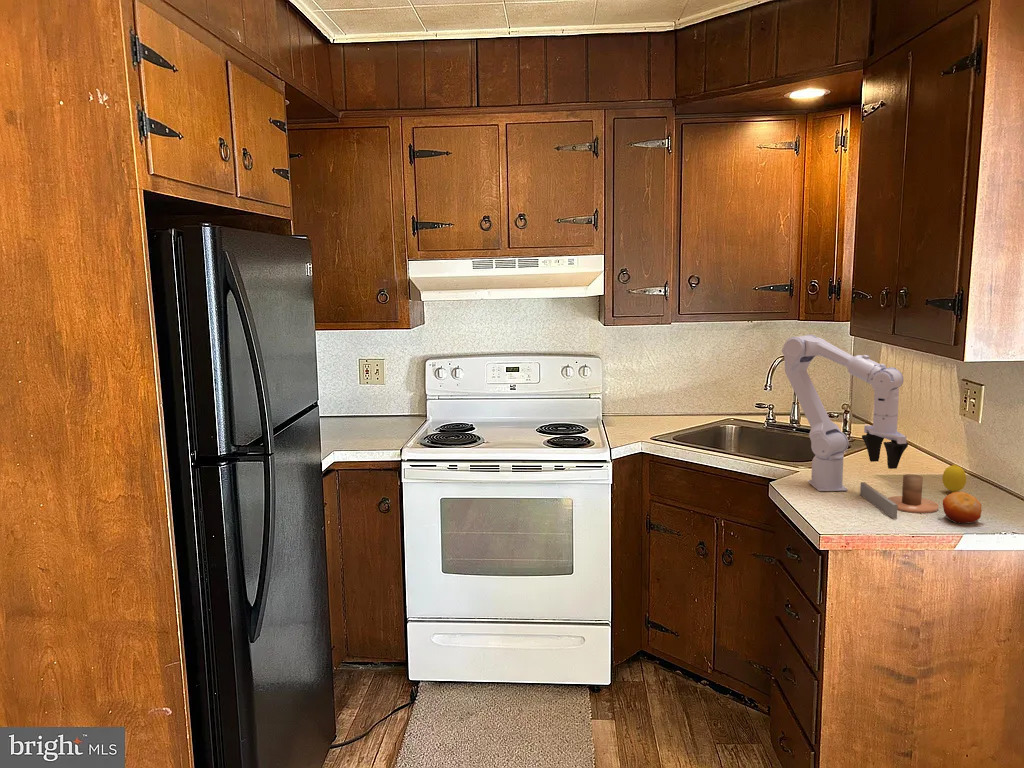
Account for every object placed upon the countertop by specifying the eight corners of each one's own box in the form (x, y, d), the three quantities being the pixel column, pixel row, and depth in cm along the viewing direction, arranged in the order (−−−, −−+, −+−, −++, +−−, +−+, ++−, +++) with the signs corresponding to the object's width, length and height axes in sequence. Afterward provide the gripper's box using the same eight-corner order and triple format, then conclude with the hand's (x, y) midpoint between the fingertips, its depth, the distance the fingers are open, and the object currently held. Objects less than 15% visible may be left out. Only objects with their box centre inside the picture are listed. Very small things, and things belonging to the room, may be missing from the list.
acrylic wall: (860, 494, 200) (860, 482, 200) (863, 494, 200) (864, 482, 200) (892, 518, 181) (893, 504, 180) (896, 518, 181) (897, 504, 180)
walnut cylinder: (898, 500, 192) (899, 474, 191) (913, 499, 192) (915, 473, 191) (909, 506, 187) (910, 479, 186) (925, 504, 188) (926, 478, 187)
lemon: (943, 489, 203) (945, 460, 202) (966, 492, 200) (968, 463, 199) (939, 493, 199) (941, 465, 198) (963, 497, 196) (965, 468, 195)
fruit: (961, 507, 183) (974, 485, 178) (978, 532, 177) (992, 510, 172) (929, 508, 183) (941, 486, 178) (945, 533, 177) (958, 511, 172)
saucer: (877, 499, 196) (877, 496, 196) (924, 498, 195) (924, 495, 195) (897, 513, 184) (898, 510, 184) (947, 513, 184) (947, 510, 183)
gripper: (854, 410, 199) (852, 459, 201) (889, 420, 185) (886, 472, 187) (878, 409, 200) (876, 457, 202) (915, 418, 186) (912, 470, 188)
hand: (883, 464), depth 195 cm, fingers open, 7 cm apart
